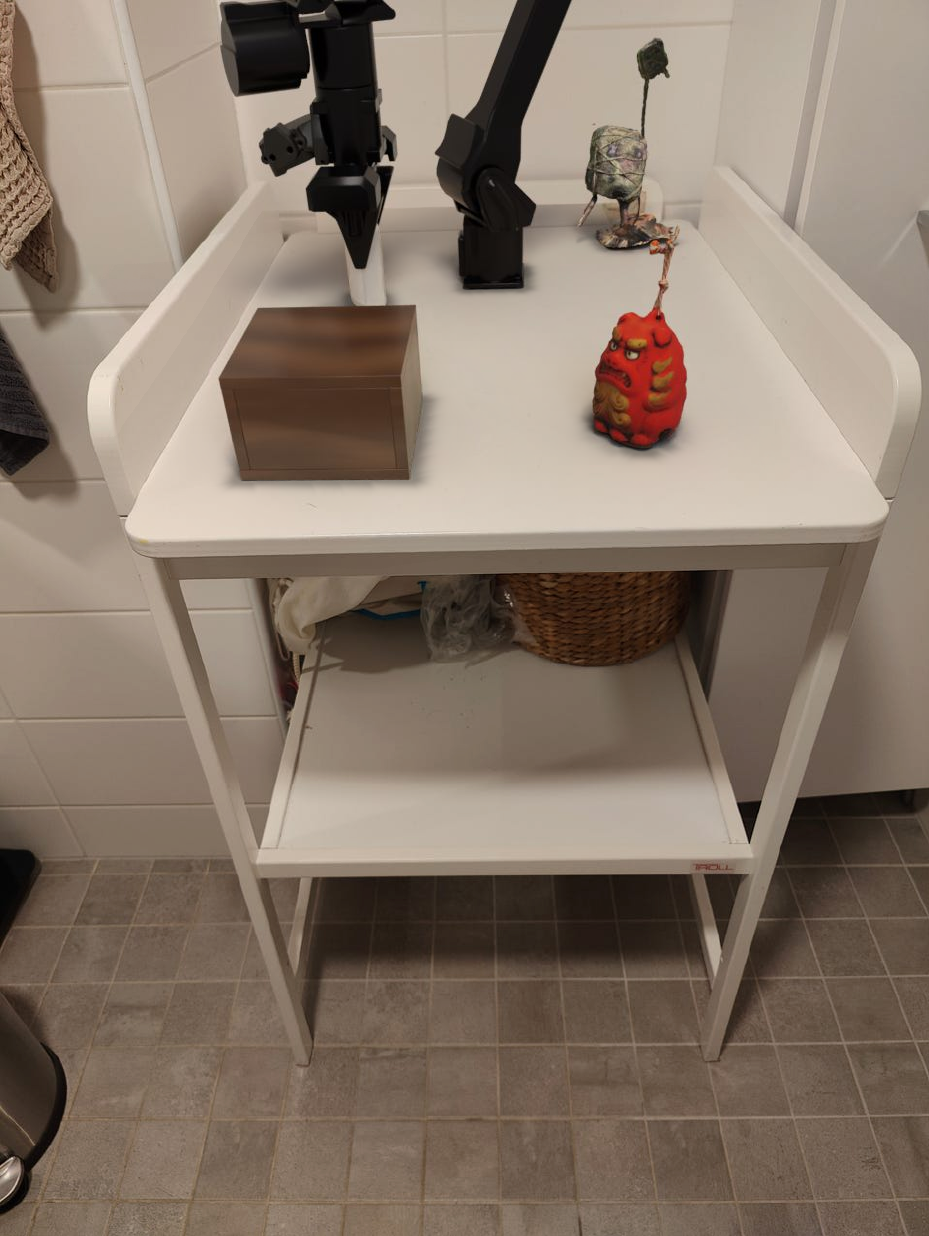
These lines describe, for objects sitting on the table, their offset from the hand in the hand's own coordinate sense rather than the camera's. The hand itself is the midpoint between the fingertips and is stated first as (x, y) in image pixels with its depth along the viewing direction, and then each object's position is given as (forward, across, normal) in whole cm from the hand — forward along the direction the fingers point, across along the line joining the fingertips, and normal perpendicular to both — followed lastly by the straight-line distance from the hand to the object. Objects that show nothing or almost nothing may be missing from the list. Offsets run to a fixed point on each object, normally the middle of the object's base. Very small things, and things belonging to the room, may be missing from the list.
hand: (364, 257), depth 92 cm
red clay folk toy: (+4, +28, +25) cm, 38 cm away
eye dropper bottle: (+5, 0, 0) cm, 5 cm away
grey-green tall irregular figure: (+5, -18, +28) cm, 34 cm away
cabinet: (+4, +29, +1) cm, 29 cm away
